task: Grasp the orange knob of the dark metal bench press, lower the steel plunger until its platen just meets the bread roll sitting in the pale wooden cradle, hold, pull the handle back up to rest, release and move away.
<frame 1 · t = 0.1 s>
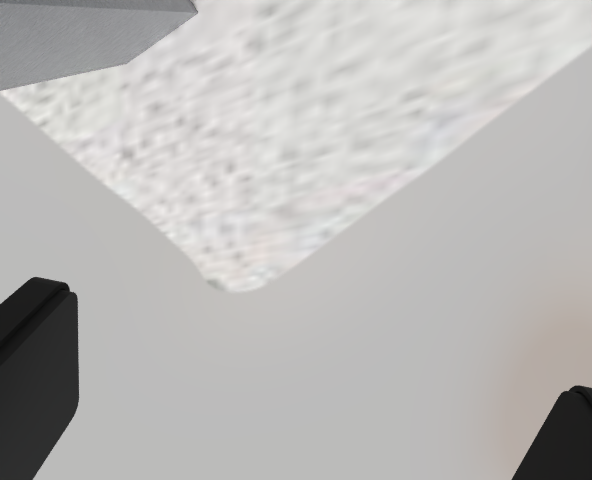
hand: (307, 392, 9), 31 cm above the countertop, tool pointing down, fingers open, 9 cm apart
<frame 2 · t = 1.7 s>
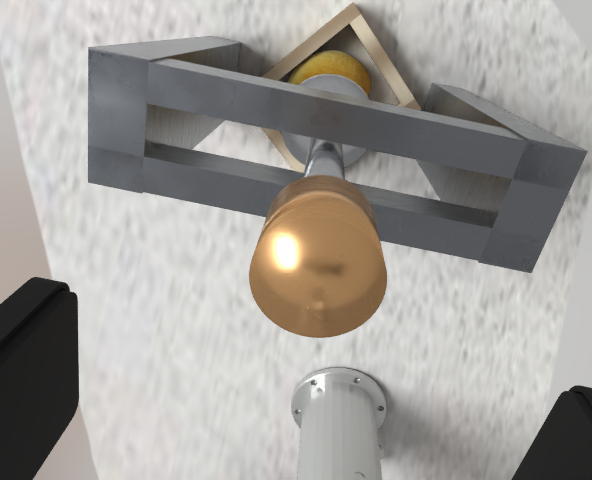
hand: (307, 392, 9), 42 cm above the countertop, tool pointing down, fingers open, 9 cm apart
cradle: (328, 99, 47), on the countertop
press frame: (328, 99, 47), on the countertop
bread roll: (328, 99, 48), resting in cradle
plunger: (324, 165, 25), point 25 cm above the countertop, slide at 0.0 cm
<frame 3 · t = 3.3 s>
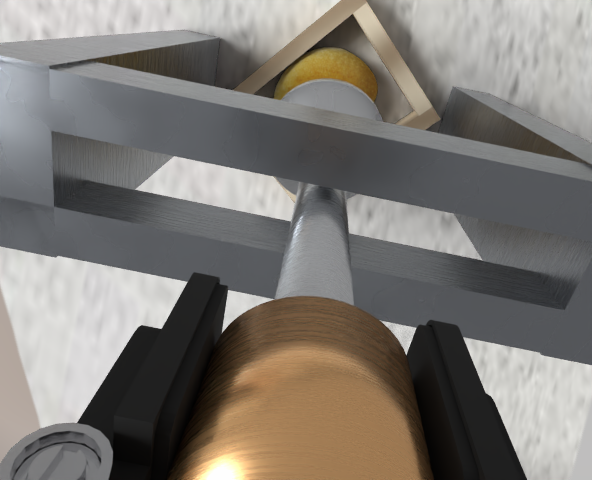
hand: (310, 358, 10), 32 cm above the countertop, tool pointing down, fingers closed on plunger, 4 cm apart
cradle: (327, 106, 39), on the countertop
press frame: (327, 106, 39), on the countertop
bread roll: (326, 106, 40), resting in cradle
plunger: (319, 218, 17), point 24 cm above the countertop, slide at 0.0 cm, touching gripper
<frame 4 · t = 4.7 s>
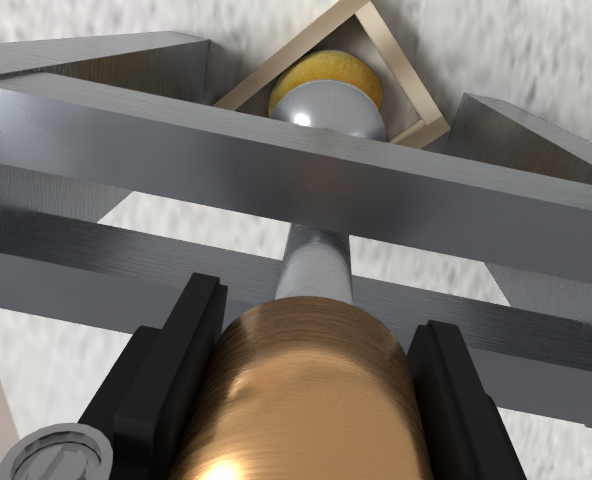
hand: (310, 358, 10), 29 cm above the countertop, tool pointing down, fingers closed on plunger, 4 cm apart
cradle: (327, 114, 36), on the countertop
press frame: (327, 114, 36), on the countertop
bread roll: (325, 114, 36), resting in cradle
plunger: (319, 219, 17), point 21 cm above the countertop, slide at 3.6 cm, touching gripper
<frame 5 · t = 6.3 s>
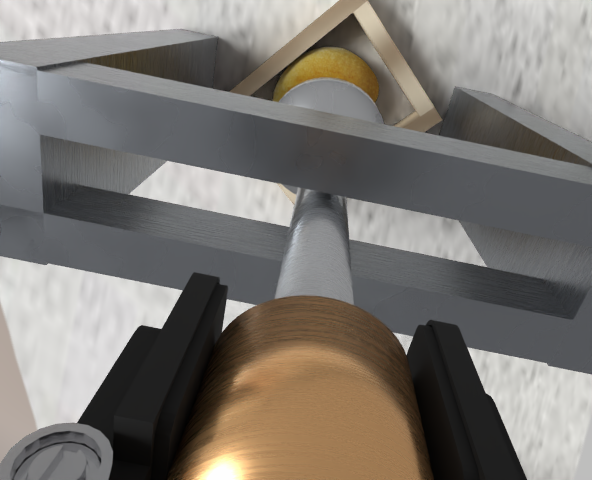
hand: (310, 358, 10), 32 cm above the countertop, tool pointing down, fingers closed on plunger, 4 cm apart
cradle: (327, 106, 39), on the countertop
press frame: (327, 106, 39), on the countertop
bread roll: (326, 107, 39), resting in cradle
plunger: (319, 218, 17), point 24 cm above the countertop, slide at 0.7 cm, touching gripper
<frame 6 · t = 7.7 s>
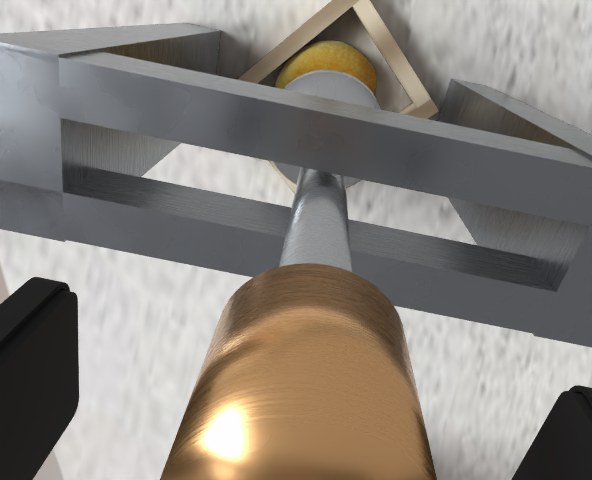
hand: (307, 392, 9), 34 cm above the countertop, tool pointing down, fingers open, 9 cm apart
cradle: (327, 98, 40), on the countertop
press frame: (327, 98, 40), on the countertop
bread roll: (325, 99, 40), resting in cradle
plunger: (320, 202, 18), point 24 cm above the countertop, slide at 0.1 cm
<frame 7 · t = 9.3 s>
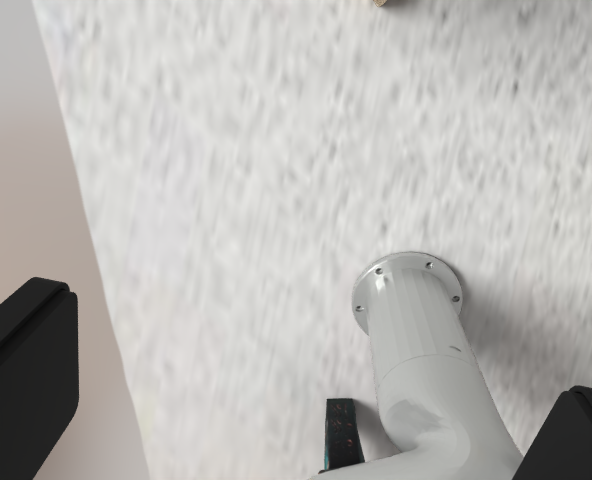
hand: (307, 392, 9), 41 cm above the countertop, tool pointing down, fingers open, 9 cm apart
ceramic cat: (345, 440, 67), on the countertop
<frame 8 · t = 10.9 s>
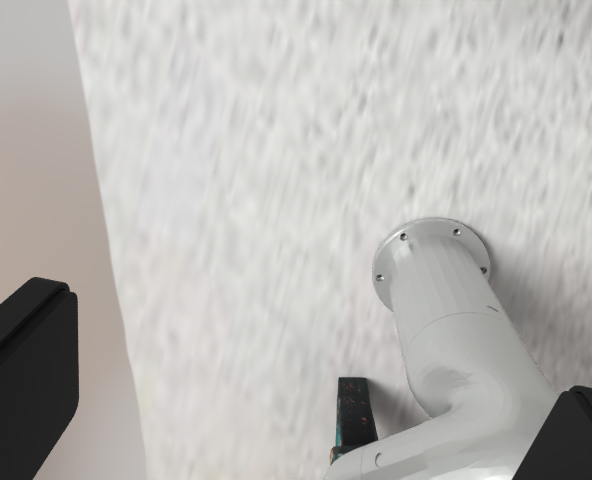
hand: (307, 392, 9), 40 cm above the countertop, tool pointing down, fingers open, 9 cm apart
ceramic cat: (355, 423, 64), on the countertop
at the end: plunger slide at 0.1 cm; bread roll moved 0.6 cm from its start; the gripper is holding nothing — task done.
